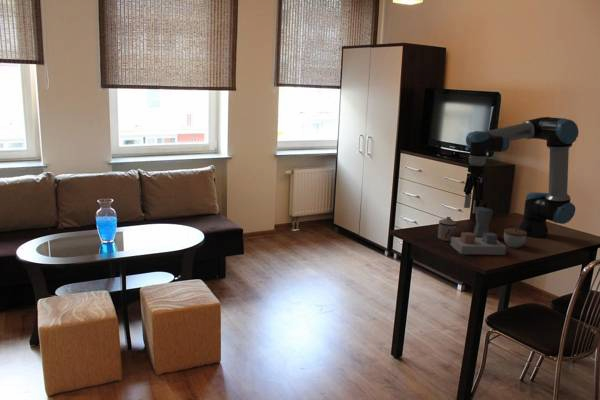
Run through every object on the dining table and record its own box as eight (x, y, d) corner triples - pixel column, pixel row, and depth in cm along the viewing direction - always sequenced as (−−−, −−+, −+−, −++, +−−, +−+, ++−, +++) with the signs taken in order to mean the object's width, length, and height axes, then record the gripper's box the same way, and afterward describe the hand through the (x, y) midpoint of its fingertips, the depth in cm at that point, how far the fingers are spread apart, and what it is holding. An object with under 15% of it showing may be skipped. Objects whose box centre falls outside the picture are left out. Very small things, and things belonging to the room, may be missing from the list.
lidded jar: (522, 250, 259) (525, 232, 257) (500, 246, 264) (502, 228, 262) (526, 245, 268) (529, 227, 266) (504, 241, 273) (507, 223, 271)
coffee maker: (495, 238, 277) (500, 205, 273) (482, 239, 274) (486, 206, 270) (477, 230, 291) (481, 199, 287) (464, 231, 288) (467, 199, 284)
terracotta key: (470, 241, 259) (471, 232, 258) (474, 244, 254) (475, 235, 253) (460, 240, 258) (461, 232, 257) (464, 244, 253) (465, 235, 252)
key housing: (492, 245, 265) (493, 237, 264) (505, 254, 251) (506, 246, 251) (450, 244, 263) (451, 237, 262) (461, 254, 249) (462, 246, 248)
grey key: (491, 241, 260) (492, 232, 259) (496, 244, 255) (497, 235, 254) (482, 241, 259) (483, 232, 258) (486, 244, 254) (487, 235, 253)
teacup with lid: (445, 242, 267) (448, 220, 265) (433, 237, 275) (435, 215, 272) (463, 239, 273) (465, 218, 270) (450, 234, 281) (452, 213, 278)
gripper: (460, 160, 258) (454, 204, 263) (478, 168, 236) (473, 216, 241) (474, 160, 258) (469, 205, 263) (495, 168, 237) (488, 216, 242)
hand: (471, 210), depth 252 cm, fingers open, 10 cm apart
